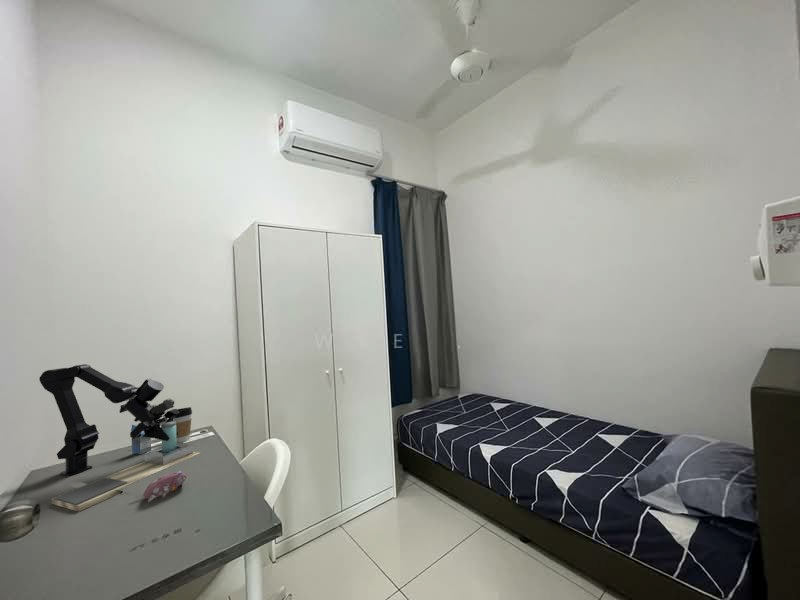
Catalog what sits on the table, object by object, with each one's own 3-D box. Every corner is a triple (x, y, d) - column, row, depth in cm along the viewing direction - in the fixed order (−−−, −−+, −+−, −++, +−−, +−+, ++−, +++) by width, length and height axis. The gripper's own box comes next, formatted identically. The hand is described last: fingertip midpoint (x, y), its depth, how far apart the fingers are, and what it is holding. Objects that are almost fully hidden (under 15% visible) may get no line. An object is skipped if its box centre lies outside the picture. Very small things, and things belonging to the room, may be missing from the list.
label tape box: (152, 454, 124) (151, 423, 125) (139, 458, 121) (139, 426, 122) (143, 451, 129) (142, 421, 130) (130, 454, 125) (130, 424, 126)
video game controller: (146, 507, 88) (149, 488, 86) (142, 496, 90) (144, 477, 89) (186, 491, 95) (189, 472, 94) (181, 481, 98) (184, 463, 97)
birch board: (51, 503, 91) (51, 498, 91) (175, 453, 123) (174, 449, 123) (79, 511, 85) (79, 506, 85) (200, 456, 118) (200, 452, 118)
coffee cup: (184, 447, 130) (183, 411, 131) (164, 448, 130) (163, 412, 131) (197, 439, 138) (196, 405, 139) (178, 440, 138) (178, 407, 139)
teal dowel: (159, 457, 114) (158, 424, 115) (171, 452, 118) (171, 421, 119) (167, 458, 113) (166, 425, 113) (179, 453, 117) (178, 421, 118)
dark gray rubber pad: (54, 499, 90) (54, 497, 90) (105, 478, 101) (105, 477, 101) (76, 505, 86) (76, 503, 86) (127, 483, 97) (127, 481, 97)
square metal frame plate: (144, 462, 112) (144, 454, 113) (175, 450, 122) (175, 442, 123) (163, 465, 108) (163, 457, 109) (193, 452, 119) (193, 444, 119)
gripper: (138, 400, 108) (171, 429, 108) (174, 388, 126) (202, 413, 126) (115, 425, 107) (148, 454, 106) (154, 409, 125) (183, 434, 125)
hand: (172, 437), depth 116 cm, fingers closed on teal dowel, 4 cm apart
